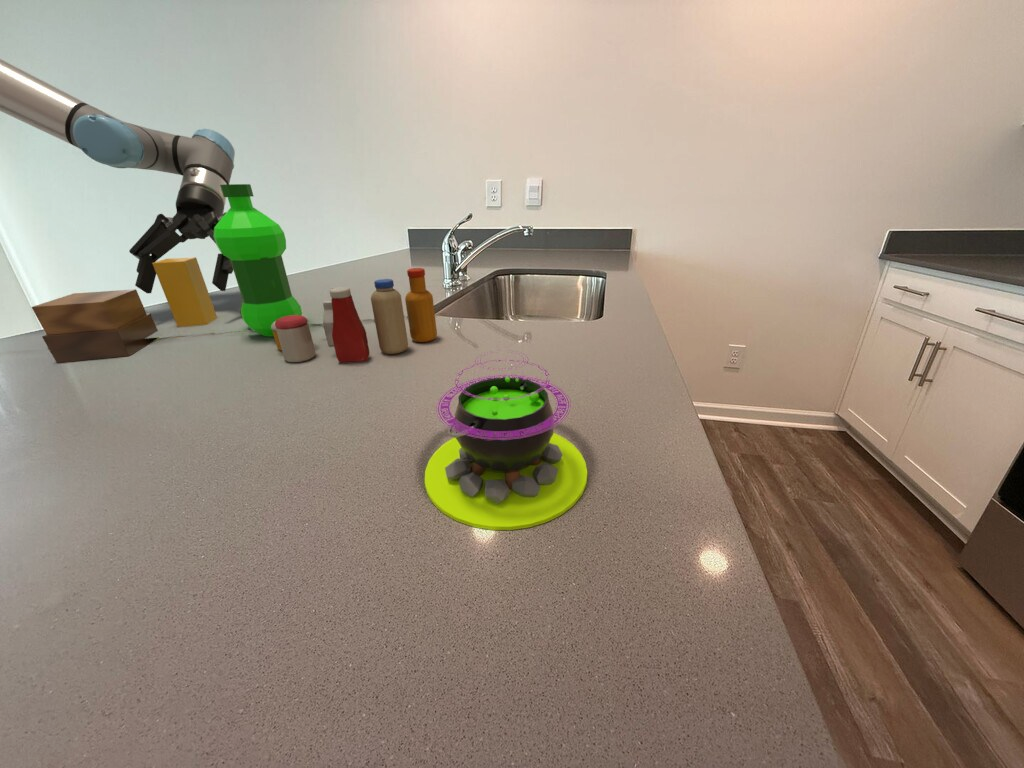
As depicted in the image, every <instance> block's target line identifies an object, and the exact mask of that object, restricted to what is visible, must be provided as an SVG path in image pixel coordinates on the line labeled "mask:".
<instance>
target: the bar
mask: <svg viewBox="0 0 1024 768" xmlns="http://www.w3.org/2000/svg"><path fill="white" fill-rule="evenodd" d="M152 264H153V266H154V269H155V271H156V277H157V279H158V281H159V284H160V287H161V289H162V291H163V293H164V296H165V299H166V301H167V304H168V306H169V309H170V311H171V314H172V316H173V319H174V321H175V324H176V326H177V328H183V327H184V328H185V327H194V326H205V325H209V324H210V323H211V322H213V321H214V320H216V319H217V318H218V316H217V313H216V311H215V307H214V304H213V302H212V299H211V296H210V293H209V290H208V287H207V284H206V281H205V279H204V275H203V273H202V270H201V267H200V264H199V262H198V258H197V257H196V256H194V257H192V256H191V257H174V258H164V259H161V260H157V261H156V262H154V263H152Z"/></svg>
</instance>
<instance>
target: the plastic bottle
mask: <svg viewBox="0 0 1024 768" xmlns="http://www.w3.org/2000/svg"><path fill="white" fill-rule="evenodd" d="M220 187H221V190H222V193H223V197H227V200H228V204H229V207H230V208H229V209H228V210H227V211H226V214H225V215H224V216H223V217H222V218H221V220H220V221H219V222H218V223H217V225H216V226H215V227H214V239H215V242H216V243H215V242H214V243H215V245H216V247H217V248H218V250H219V253H220V254H223V255H225V256H226V257H228V258H229V259H230V261H231V264H232V267H233V273H234V277H235V279H236V282H237V283H236V284H237V286H238V290H239V292H240V295H241V298H242V302H241V305H240V315H241V319H242V320H243V322H244V323H245V324H246V326H248V328H249V329H251V330H252V331H254V332H256V333H257V334H259V335H262V336H263V337H270V338H271V337H274V335H273V331H272V329H271V325H272V323H273V322H275V321H276V320H278V319H279V318H281V317H284V316H290V315H301V316H303V315H302V314H303V311H302V307H301V305H300V304H299V302H298V300H297V299H296V298H295V297H294V296H293V294H292V291H291V287H290V282H289V279H288V274H287V271H286V267H285V264H284V260H283V254H284V253H285V251H286V250H287V239H286V235H285V231H284V230H283V229H282V227H281V226H280V224H278V223H277V222H276V221H275V220H273V219H272V218H270V217H269V216H267V215H266V214H265V213H263V212H261V211H260V210H258V209H257V208H255V207H254V206H253V201H252V198H251V197H254V193H253V189H252V185H251V183H244V184H243V183H240V184H239V183H237V184H232V183H231V184H230V183H229V185H220Z"/></svg>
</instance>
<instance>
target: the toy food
mask: <svg viewBox="0 0 1024 768" xmlns="http://www.w3.org/2000/svg"><path fill="white" fill-rule="evenodd" d="M406 273H407V277H408V282H409V288H410V291H408V292H407V293H406V295H405V297H404V302H405V308H406V315H407V321H408V322H407V323H408V327H409V328H408V329H409V335H410V338H411V340H413V341H414V342H417V343H428V342H431V341H434V340H435V339H436V337H437V336H438V329H437V321H436V312H435V306H434V305H435V303H434V298H433V294H432V293H431V292H430V291H429V290H427V286H426V277H425V276H426V271H425V268H422V267H412V268H408V269H407V271H406ZM373 283H374V288H375V290H374V291H373V292H372V293H371V296H370V302H371V307H372V313H373V318H374V325H375V329H376V335H377V340H378V347H379V349H380V351H381V352H382V353H384V354H387V355H396V354H397V355H398V354H400V353H403V352H405V351H406V350H407V349H408V347H409V340H408V333H407V327H406V320H405V314H404V307H403V301H402V295H401V293H400V291H398V290H397V289H395V288H394V286H395V284H394V280H393V279H391V278H380V279H376V280H374V281H373ZM329 294H330V296H329V297H330V298H331V300H325V301H323V302H322V305H323V317H322V326H323V330H324V335H325V338H326V342H327V345H328V346H332V347H334V352H335V355H336V359H337V361H338V362H339V363H343V364H346V363H347V364H348V363H349V364H350V363H351V364H352V363H364V362H366V361H367V360H368V359H369V357H370V348H369V341H368V336H367V331H366V328H365V326H364V324H363V322H362V320H361V317H360V316H359V313H358V311H357V309H356V306H355V302H354V299H353V296H352V293H351V288H350V287H346V286H344V287H343V286H341V287H334V288H331V289H329ZM308 322H309V320H308V319H307V318H306V317H305V316H304V315H290V316H284V317H281V318H279V319H278V320H276V321H275V322H273V323H272V325H271V329H272V331H273V335H274V336H273V338H274V341H275V345H276V348H277V349H278V350H279V351H281V352H282V355H283V358H284V360H285V362H288V363H301V362H305V361H309V360H311V359H313V358H314V357H315V356H316V354H317V353H316V349H315V344H314V341H313V337H312V333H311V328H310V325H309V323H308Z"/></svg>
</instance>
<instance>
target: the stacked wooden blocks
mask: <svg viewBox="0 0 1024 768" xmlns="http://www.w3.org/2000/svg"><path fill="white" fill-rule="evenodd" d="M31 310H32V311H33V313H34V315H35V316H36V318H37V320H38V322H39V324H40V325H41V327H42V329H43V331H44V333H45V335H42V336H41V338H42V339H43V341H44V343H45V345H46V347H47V348H48V350H49V352H50V353H51V355H52V357H53V359H54V361H55V363H56V364H61V363H62V364H63V363H71V362H72V363H73V362H80V361H81V362H82V361H83V362H84V361H92V360H103V359H113V358H122V357H130V356H132V355H133V354H135V353H136V352H139V351H140V350H141V349H143V348H145V347H146V346H148V345H150V344H151V343H153V342H154V341H156V340H158V339H159V338H160V337H158V336H157V337H150V336H151V335H153V334H155V333H157V332H158V331H159V330H158V328H157V325H156V323H155V320H154V318H153V316H152V313H147V311H146V309H145V307H144V304H143V302H142V300H141V297H140V295H139V292H138V290H137V289H136V288H134V289H119V290H104V291H103V290H102V291H89V292H75V293H71V294H67V295H64V296H61V297H58V298H55V299H52V300H49V301H46V302H42V303H40V304H36V305H34V306H31Z"/></svg>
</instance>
